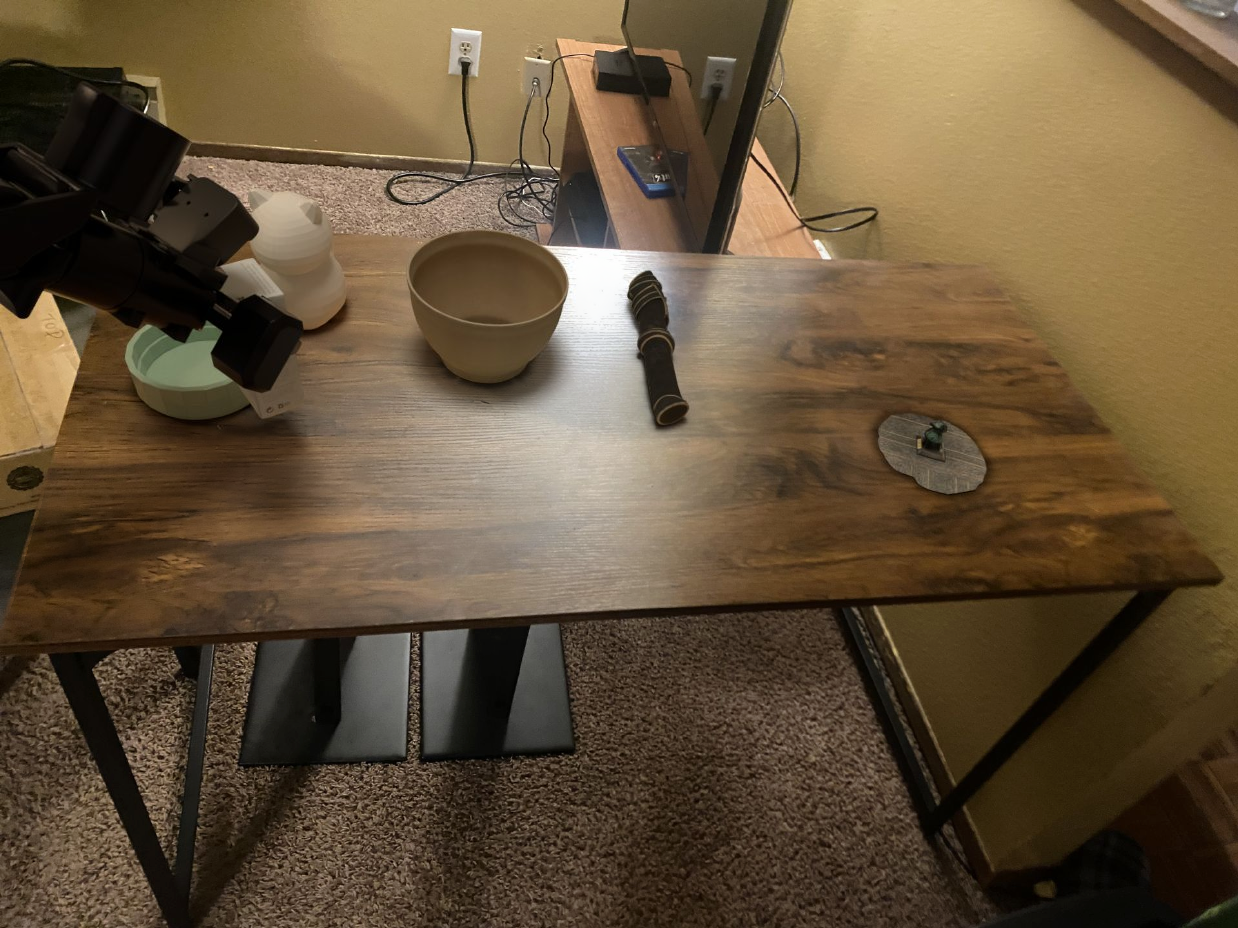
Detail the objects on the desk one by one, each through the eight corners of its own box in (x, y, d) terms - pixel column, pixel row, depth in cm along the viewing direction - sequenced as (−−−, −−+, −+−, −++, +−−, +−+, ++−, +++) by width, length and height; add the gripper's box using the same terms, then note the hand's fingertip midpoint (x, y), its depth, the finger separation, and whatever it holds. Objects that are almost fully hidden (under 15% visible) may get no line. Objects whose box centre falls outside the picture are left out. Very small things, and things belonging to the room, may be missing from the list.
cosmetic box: (308, 405, 75) (290, 293, 66) (258, 422, 73) (233, 309, 64) (278, 366, 78) (257, 254, 69) (229, 381, 75) (202, 267, 67)
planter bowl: (406, 405, 85) (402, 320, 77) (413, 308, 95) (410, 224, 87) (564, 409, 88) (575, 328, 80) (553, 314, 98) (562, 234, 90)
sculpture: (857, 421, 94) (916, 375, 91) (891, 453, 100) (946, 411, 98) (914, 497, 86) (980, 449, 83) (946, 526, 92) (1009, 482, 90)
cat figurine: (245, 333, 88) (217, 206, 77) (291, 268, 97) (272, 145, 86) (329, 349, 88) (313, 225, 78) (368, 283, 97) (358, 163, 86)
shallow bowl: (129, 426, 77) (117, 395, 75) (143, 342, 85) (132, 311, 82) (270, 417, 81) (264, 386, 78) (271, 336, 89) (265, 306, 86)
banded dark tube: (698, 409, 86) (670, 266, 102) (651, 398, 84) (630, 255, 101) (682, 436, 89) (657, 293, 105) (636, 426, 87) (618, 283, 104)
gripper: (261, 222, 53) (396, 296, 68) (84, 111, 59) (244, 201, 74) (177, 373, 54) (329, 413, 69) (10, 249, 60) (183, 310, 74)
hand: (271, 328), depth 71 cm, fingers closed on cosmetic box, 6 cm apart
